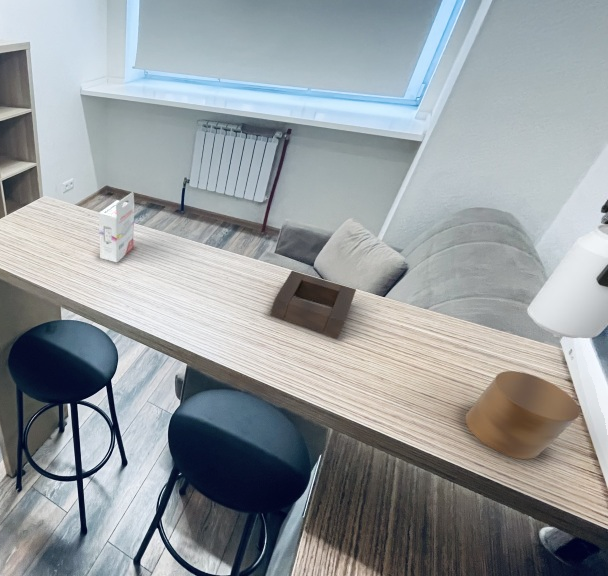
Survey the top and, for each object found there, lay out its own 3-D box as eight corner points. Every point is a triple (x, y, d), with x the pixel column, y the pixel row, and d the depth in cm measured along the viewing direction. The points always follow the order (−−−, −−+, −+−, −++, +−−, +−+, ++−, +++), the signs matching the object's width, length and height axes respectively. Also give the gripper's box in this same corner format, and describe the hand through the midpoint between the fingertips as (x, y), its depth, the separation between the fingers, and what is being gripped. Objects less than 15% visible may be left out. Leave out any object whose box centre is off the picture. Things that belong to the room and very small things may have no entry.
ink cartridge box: (116, 243, 103) (116, 187, 94) (133, 247, 100) (136, 190, 92) (98, 258, 97) (97, 199, 88) (116, 263, 94) (117, 204, 86)
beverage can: (584, 350, 44) (669, 255, 38) (513, 320, 49) (578, 230, 42) (603, 331, 47) (686, 238, 40) (534, 304, 51) (599, 216, 45)
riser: (546, 436, 56) (586, 398, 51) (531, 471, 52) (573, 432, 47) (475, 400, 61) (505, 362, 56) (456, 429, 57) (487, 390, 52)
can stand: (349, 305, 80) (356, 289, 78) (337, 338, 72) (345, 321, 70) (287, 286, 86) (291, 270, 84) (270, 315, 78) (274, 298, 76)
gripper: (874, 125, 28) (678, 318, 37) (766, 94, 37) (632, 253, 47) (703, 113, 31) (565, 291, 41) (645, 87, 41) (544, 236, 50)
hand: (601, 270), depth 44 cm, fingers closed on beverage can, 6 cm apart
